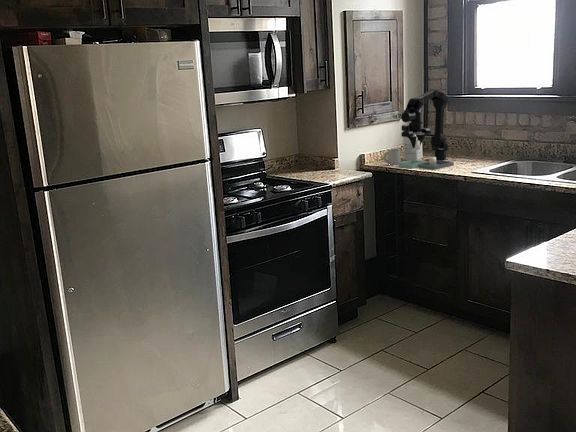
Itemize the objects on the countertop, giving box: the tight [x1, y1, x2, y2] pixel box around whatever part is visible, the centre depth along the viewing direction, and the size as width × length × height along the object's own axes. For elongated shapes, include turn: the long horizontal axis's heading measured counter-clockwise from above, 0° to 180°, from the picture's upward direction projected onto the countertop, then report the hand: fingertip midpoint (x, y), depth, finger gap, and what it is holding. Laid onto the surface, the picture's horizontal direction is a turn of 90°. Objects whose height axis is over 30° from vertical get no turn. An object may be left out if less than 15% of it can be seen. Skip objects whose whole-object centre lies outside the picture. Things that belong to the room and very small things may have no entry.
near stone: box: [413, 140, 420, 150], centre depth 364 cm, size 4×4×5 cm
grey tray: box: [418, 160, 454, 171], centre depth 362 cm, size 16×12×2 cm
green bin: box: [398, 159, 427, 169], centre depth 368 cm, size 11×11×3 cm
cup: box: [383, 148, 401, 166], centre depth 379 cm, size 7×10×9 cm
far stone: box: [428, 156, 436, 166], centre depth 363 cm, size 4×4×5 cm
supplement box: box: [402, 134, 424, 161], centre depth 393 cm, size 9×9×15 cm
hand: (416, 147), depth 364 cm, fingers closed on near stone, 4 cm apart
